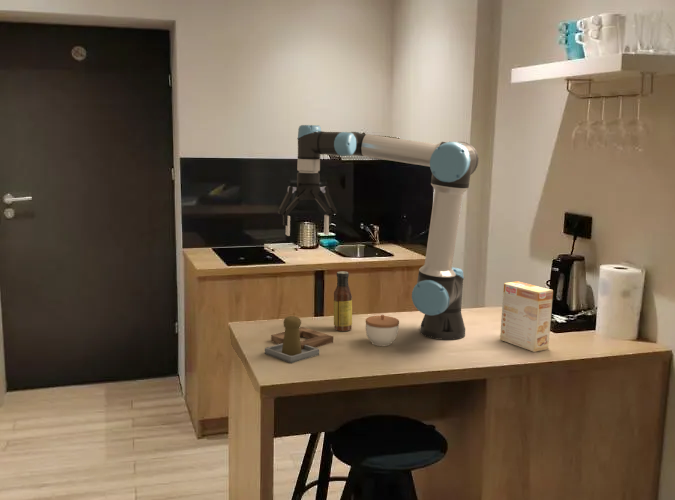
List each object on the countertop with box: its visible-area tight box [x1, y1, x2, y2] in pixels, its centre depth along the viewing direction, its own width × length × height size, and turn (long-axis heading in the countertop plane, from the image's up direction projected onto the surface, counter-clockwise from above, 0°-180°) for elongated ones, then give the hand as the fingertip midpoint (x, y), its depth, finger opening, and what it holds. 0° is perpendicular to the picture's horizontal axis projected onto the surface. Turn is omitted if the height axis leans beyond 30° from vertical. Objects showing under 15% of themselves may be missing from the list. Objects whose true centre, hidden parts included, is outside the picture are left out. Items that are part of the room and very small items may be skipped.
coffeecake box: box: [499, 281, 554, 353], centre depth 229 cm, size 15×7×20 cm, turn 33°
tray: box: [264, 343, 320, 364], centre depth 214 cm, size 12×12×2 cm
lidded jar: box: [365, 314, 400, 347], centre depth 227 cm, size 11×11×9 cm
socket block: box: [270, 326, 334, 350], centre depth 226 cm, size 14×14×2 cm
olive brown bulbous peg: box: [282, 315, 302, 356], centre depth 213 cm, size 6×6×11 cm
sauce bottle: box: [333, 270, 353, 332], centre depth 240 cm, size 6×6×20 cm
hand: (307, 234), depth 240 cm, fingers open, 13 cm apart
